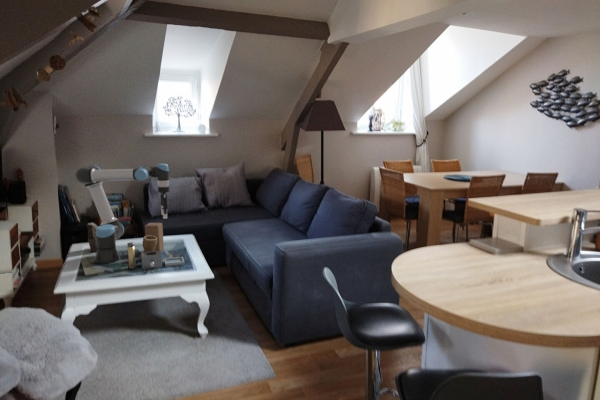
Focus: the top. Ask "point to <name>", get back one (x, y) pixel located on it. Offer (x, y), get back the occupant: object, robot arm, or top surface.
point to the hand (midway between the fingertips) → (164, 216)
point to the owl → (92, 236)
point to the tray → (174, 261)
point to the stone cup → (149, 243)
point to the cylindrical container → (131, 255)
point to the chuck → (151, 259)
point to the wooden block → (155, 234)
